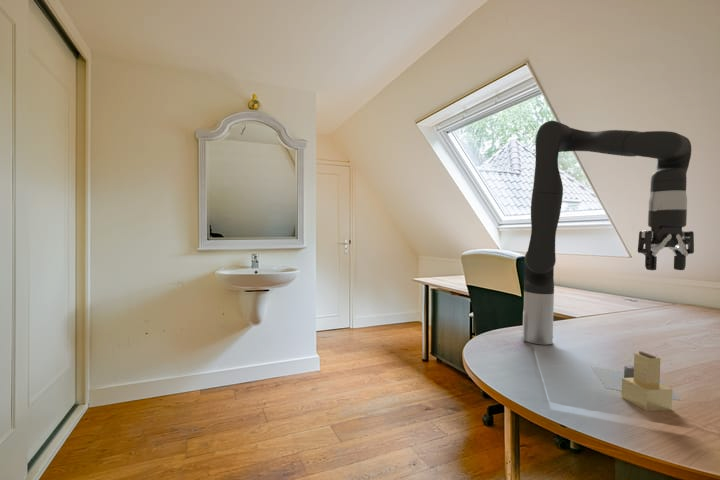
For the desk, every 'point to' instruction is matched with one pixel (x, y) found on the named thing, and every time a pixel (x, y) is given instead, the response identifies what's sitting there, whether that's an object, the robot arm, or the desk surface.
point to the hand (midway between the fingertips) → (665, 269)
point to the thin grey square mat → (619, 378)
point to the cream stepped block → (647, 385)
